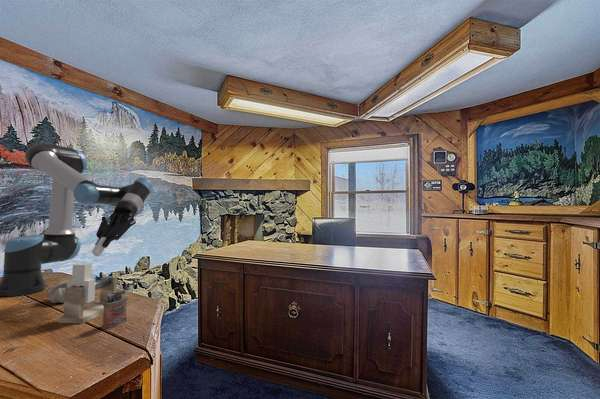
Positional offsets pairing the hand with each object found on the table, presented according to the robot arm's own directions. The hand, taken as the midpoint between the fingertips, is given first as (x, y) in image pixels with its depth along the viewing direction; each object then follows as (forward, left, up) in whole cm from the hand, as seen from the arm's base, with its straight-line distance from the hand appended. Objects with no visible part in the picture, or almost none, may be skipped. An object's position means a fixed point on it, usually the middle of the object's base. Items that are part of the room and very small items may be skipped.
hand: (95, 253), depth 101 cm
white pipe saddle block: (+5, -4, -14) cm, 16 cm away
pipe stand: (+1, 0, -20) cm, 20 cm away
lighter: (+17, +5, -20) cm, 27 cm away
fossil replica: (-22, -8, -20) cm, 31 cm away
